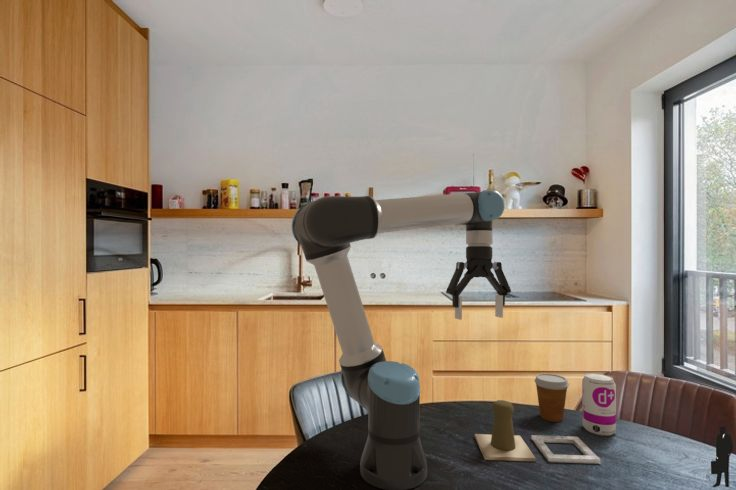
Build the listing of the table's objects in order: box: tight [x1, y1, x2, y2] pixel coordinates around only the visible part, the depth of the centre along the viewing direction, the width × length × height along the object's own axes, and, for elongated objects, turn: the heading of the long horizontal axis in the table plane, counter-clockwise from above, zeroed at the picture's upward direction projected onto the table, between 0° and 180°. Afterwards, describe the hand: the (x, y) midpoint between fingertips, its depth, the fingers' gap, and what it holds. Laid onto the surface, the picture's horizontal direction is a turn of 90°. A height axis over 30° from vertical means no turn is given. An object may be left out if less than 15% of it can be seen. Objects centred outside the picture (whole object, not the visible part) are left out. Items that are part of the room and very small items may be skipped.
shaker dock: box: [530, 434, 601, 465], centre depth 102 cm, size 12×12×1 cm
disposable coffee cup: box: [534, 373, 570, 423], centre depth 123 cm, size 10×10×12 cm
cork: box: [491, 399, 516, 451], centre depth 103 cm, size 6×6×11 cm
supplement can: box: [581, 372, 617, 437], centre depth 114 cm, size 8×8×15 cm
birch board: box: [474, 433, 537, 462], centre depth 103 cm, size 12×12×1 cm
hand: (479, 318), depth 119 cm, fingers open, 13 cm apart
